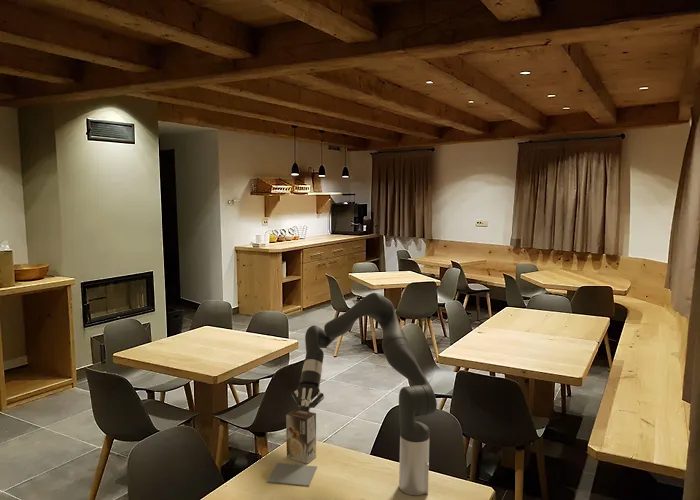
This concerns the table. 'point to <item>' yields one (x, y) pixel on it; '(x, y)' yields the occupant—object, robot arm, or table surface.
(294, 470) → the rubber mat
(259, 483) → the table surface
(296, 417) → the coffee box
